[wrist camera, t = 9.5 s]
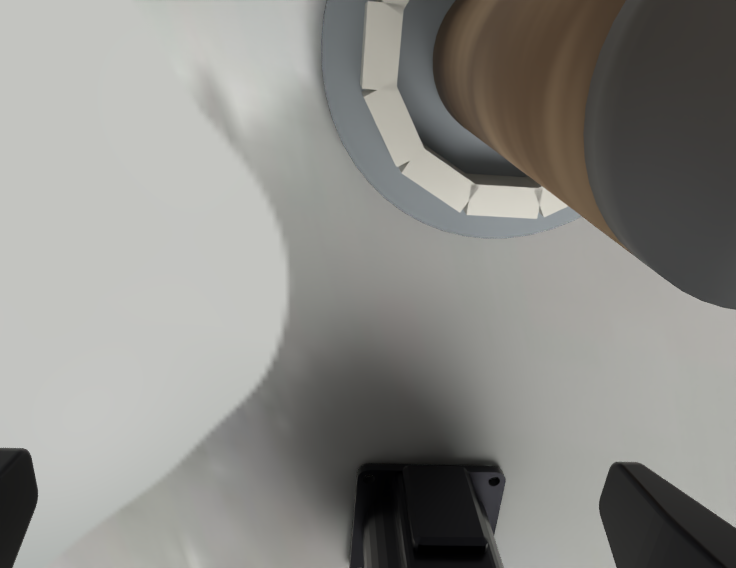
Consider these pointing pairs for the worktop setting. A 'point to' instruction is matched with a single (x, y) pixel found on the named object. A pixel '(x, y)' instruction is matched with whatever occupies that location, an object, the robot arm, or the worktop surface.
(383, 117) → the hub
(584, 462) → the worktop surface
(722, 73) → the brown wooden canister
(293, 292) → the worktop surface
